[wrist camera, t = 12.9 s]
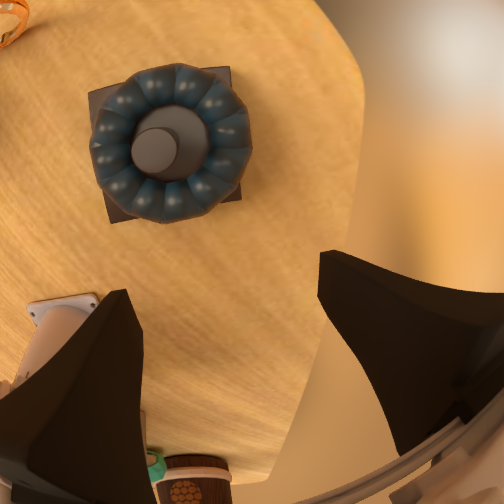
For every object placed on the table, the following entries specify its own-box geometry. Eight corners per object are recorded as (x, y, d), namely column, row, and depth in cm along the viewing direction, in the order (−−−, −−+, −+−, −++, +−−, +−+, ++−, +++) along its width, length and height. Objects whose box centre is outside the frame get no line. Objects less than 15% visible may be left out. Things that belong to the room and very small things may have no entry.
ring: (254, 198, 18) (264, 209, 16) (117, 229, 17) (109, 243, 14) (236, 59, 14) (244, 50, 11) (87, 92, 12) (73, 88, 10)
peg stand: (238, 195, 19) (265, 231, 13) (114, 218, 17) (86, 264, 11) (227, 69, 15) (251, 40, 9) (93, 94, 13) (49, 82, 7)
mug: (215, 447, 35) (235, 526, 22) (236, 468, 43) (253, 527, 30) (113, 458, 33) (117, 528, 20) (150, 479, 40) (158, 535, 27)
